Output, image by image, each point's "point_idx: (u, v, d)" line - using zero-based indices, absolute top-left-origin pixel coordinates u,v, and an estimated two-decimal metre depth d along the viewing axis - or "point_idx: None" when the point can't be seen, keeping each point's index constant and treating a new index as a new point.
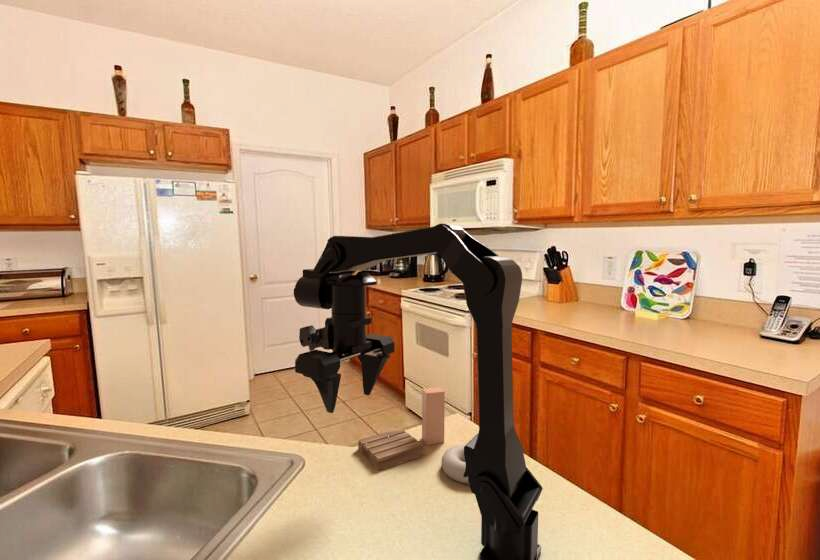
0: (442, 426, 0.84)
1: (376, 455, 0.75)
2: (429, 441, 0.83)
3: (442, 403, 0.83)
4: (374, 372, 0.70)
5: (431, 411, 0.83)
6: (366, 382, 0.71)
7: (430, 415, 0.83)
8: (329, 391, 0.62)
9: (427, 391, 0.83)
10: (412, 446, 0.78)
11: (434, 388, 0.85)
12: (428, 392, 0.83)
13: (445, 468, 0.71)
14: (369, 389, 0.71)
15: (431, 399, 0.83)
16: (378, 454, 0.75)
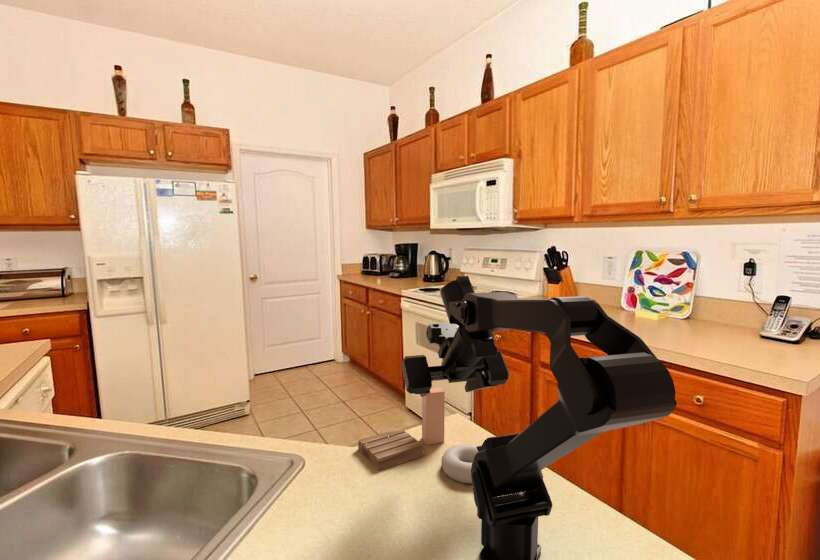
0: (442, 426, 0.84)
1: (376, 455, 0.75)
2: (429, 441, 0.83)
3: (442, 403, 0.83)
4: (476, 386, 0.74)
5: (431, 411, 0.83)
6: (469, 384, 0.76)
7: (430, 415, 0.83)
8: None
9: None
10: (412, 446, 0.78)
11: (434, 388, 0.85)
12: None
13: (445, 468, 0.71)
14: (468, 390, 0.76)
15: (431, 399, 0.83)
16: (378, 454, 0.75)
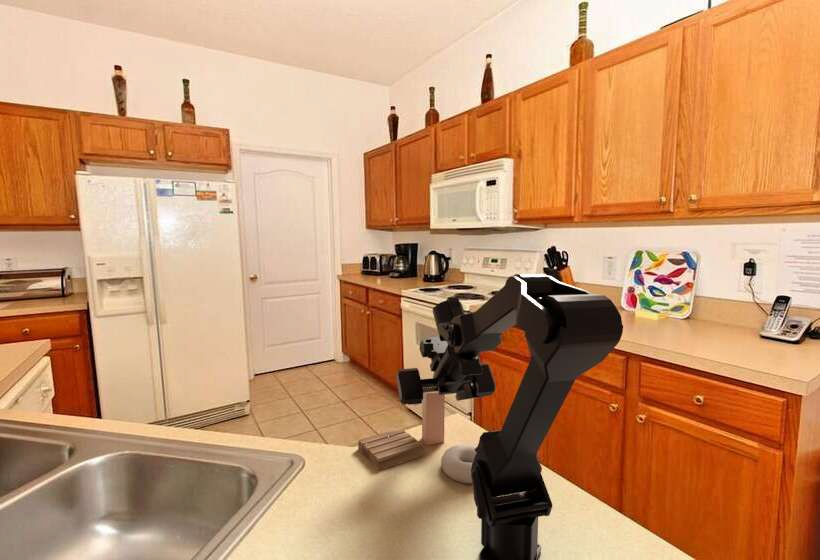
0: (442, 426, 0.84)
1: (376, 455, 0.75)
2: (429, 441, 0.83)
3: (442, 403, 0.83)
4: (465, 396, 0.80)
5: (431, 411, 0.83)
6: (459, 393, 0.82)
7: (430, 415, 0.83)
8: None
9: None
10: (412, 446, 0.78)
11: None
12: (428, 392, 0.83)
13: (445, 468, 0.71)
14: (458, 399, 0.82)
15: (431, 399, 0.83)
16: (378, 454, 0.75)
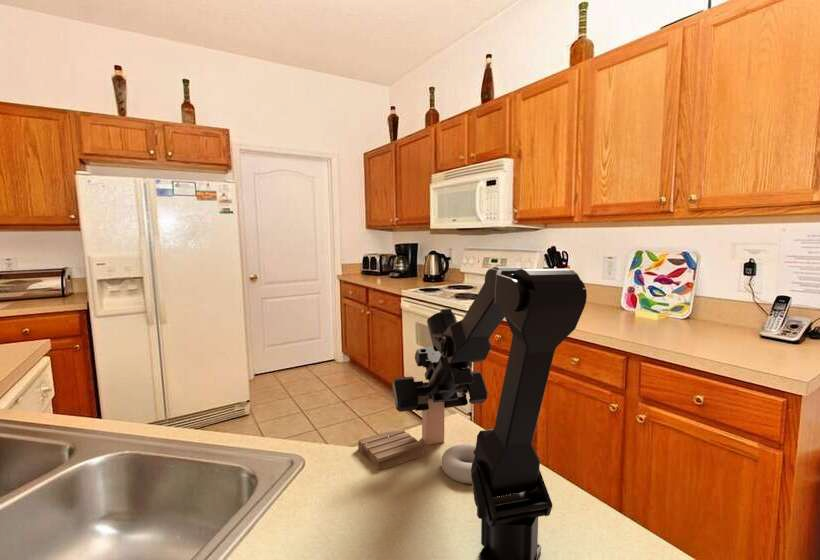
0: (442, 426, 0.84)
1: (376, 455, 0.75)
2: (429, 441, 0.83)
3: (442, 403, 0.83)
4: (448, 405, 0.82)
5: (431, 411, 0.83)
6: None
7: (430, 415, 0.83)
8: None
9: None
10: (412, 446, 0.78)
11: None
12: None
13: (445, 468, 0.71)
14: None
15: (431, 399, 0.83)
16: (378, 454, 0.75)
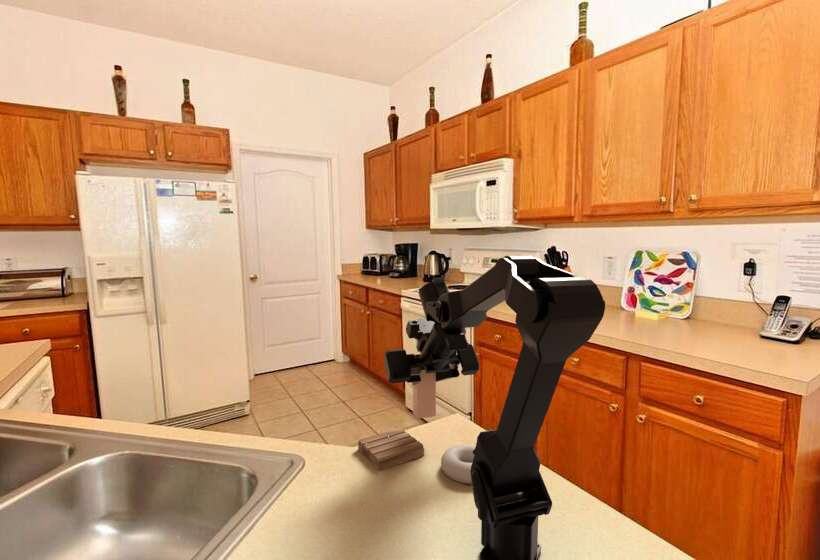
0: (433, 400, 0.83)
1: (376, 455, 0.75)
2: (420, 415, 0.82)
3: (433, 376, 0.82)
4: (439, 377, 0.81)
5: (423, 384, 0.82)
6: None
7: (422, 388, 0.82)
8: None
9: None
10: (412, 446, 0.78)
11: None
12: None
13: (445, 468, 0.71)
14: None
15: (422, 372, 0.81)
16: (378, 454, 0.75)
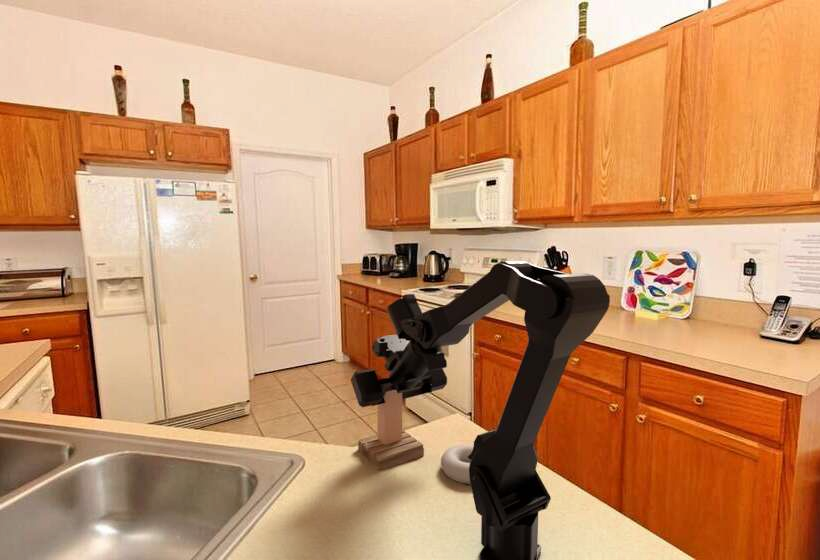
0: (400, 423, 0.80)
1: (376, 455, 0.75)
2: (388, 441, 0.79)
3: (400, 399, 0.80)
4: (412, 394, 0.80)
5: (390, 409, 0.79)
6: (404, 392, 0.82)
7: (389, 413, 0.79)
8: None
9: None
10: (412, 446, 0.78)
11: None
12: None
13: (444, 468, 0.71)
14: (403, 397, 0.82)
15: (389, 396, 0.78)
16: (378, 454, 0.75)
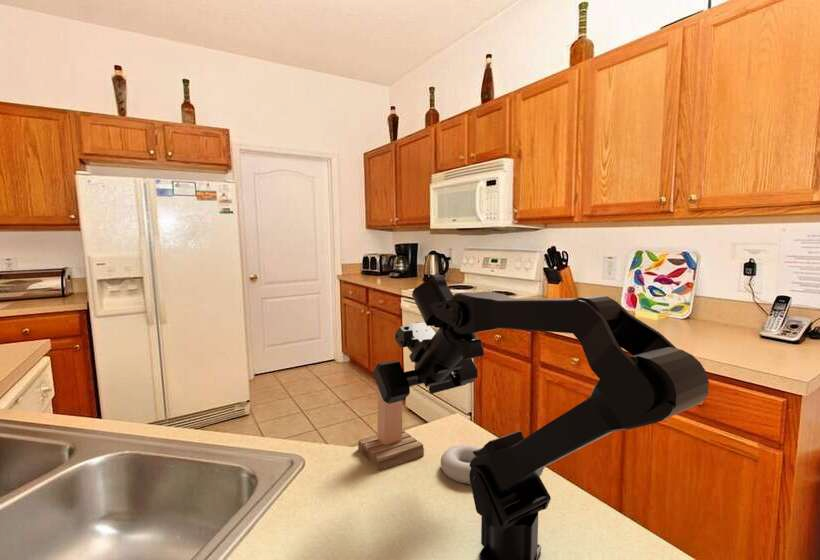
0: (400, 423, 0.80)
1: (376, 455, 0.75)
2: (388, 441, 0.79)
3: None
4: (444, 387, 0.73)
5: (390, 409, 0.79)
6: (434, 385, 0.75)
7: (389, 413, 0.79)
8: None
9: None
10: (412, 446, 0.78)
11: None
12: None
13: (444, 468, 0.71)
14: (433, 392, 0.75)
15: None
16: (378, 454, 0.75)
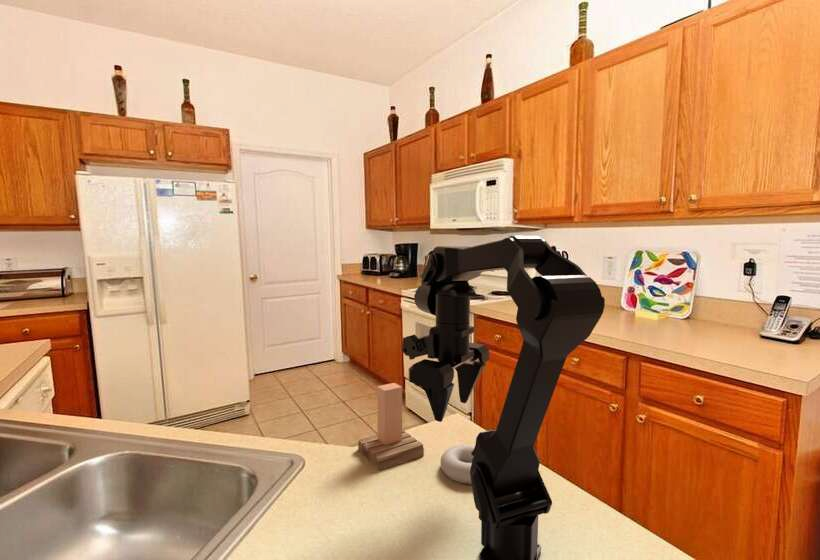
0: (400, 423, 0.80)
1: (376, 455, 0.75)
2: (388, 441, 0.79)
3: (400, 399, 0.80)
4: (472, 380, 0.71)
5: (390, 409, 0.79)
6: (463, 390, 0.72)
7: (389, 413, 0.79)
8: (441, 400, 0.62)
9: (384, 389, 0.79)
10: (412, 446, 0.78)
11: (390, 384, 0.81)
12: (386, 389, 0.78)
13: (444, 468, 0.71)
14: (466, 397, 0.71)
15: (389, 396, 0.78)
16: (378, 454, 0.75)
